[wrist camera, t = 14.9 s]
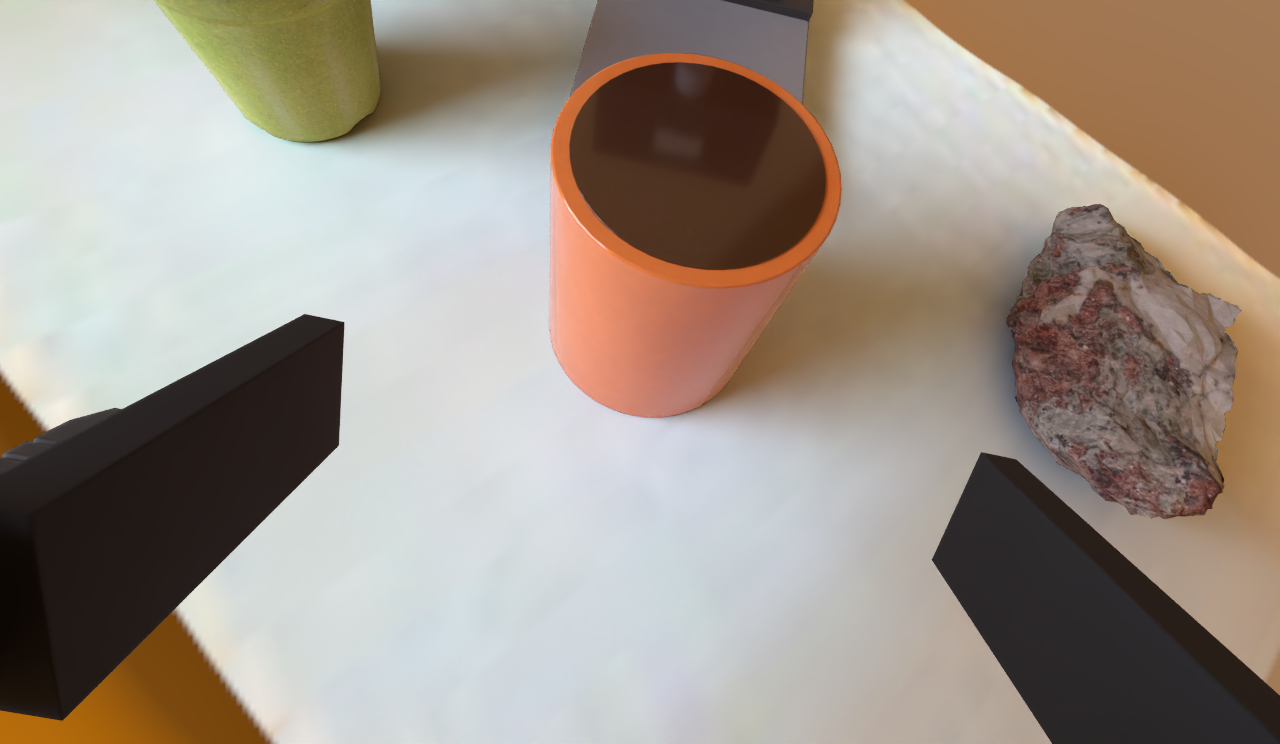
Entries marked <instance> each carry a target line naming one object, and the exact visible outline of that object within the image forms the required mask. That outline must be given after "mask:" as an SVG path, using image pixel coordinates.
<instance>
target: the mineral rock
mask: <svg viewBox="0 0 1280 744" xmlns="http://www.w3.org/2000/svg"><path fill="white" fill-rule="evenodd" d="M1058 213H1059V214H1058V215H1057V217H1056V219H1055V221H1054V223H1053V229H1052V234H1051V236H1050V237H1048V238H1046V239H1045V244H1044V248H1043V250H1042V252H1041V254H1038V256H1037V257H1036V258H1034V259H1033V260H1032V261H1031V263H1030V265H1029V267H1028V269H1029V270H1028V273H1027V276H1026V277H1025V279H1024V281H1023V282H1022V289H1021V295H1020V296H1017V302H1016V303H1015V304H1014V306H1013V307H1012V309H1011V313H1010V315H1009V316H1008V317H1007V321H1006V323H1007V326H1008V327H1011V328H1013V329H1012V330H1011V332H1012V336H1013V338H1014V339H1015V345H1016V348H1015V353H1014V357H1013V361H1012V365H1013V369H1014V374H1015V385H1016V388H1017V396H1016V397H1015V399H1016V401H1017V403H1018V405H1019V407H1020V413H1021V414H1022V416H1023V417H1024V419H1025V420H1026V422H1027V423H1028V425H1029V427H1030V428H1031V430H1032V432H1033V434H1034V436H1035V437H1036V438H1037V439H1038V440H1039V441H1040V442H1041V443H1042V444H1043V446H1044V447H1046V449H1047V450H1048V451H1049V452H1050V453H1051V454H1052V456H1053V457H1054V458H1055V459H1056V460H1057V463H1058V464H1060V465H1062V466H1064V467H1066V468H1068V469H1070V470H1072V471H1074V472H1075V473H1077V474H1080V475H1081V476H1082V477H1084V478H1085V479H1086V480H1087V481H1089V482H1090V483H1091V487H1092V489H1093V490H1095V491H1096V492H1097V493H1098V494H1099V495H1100V496H1101V497H1102V498H1104V499H1105V500H1106V501H1111V502H1116V503H1120V504H1121V505H1124V506H1125V508H1126V509H1127V510H1128V512H1129V513H1130V514H1131V515H1134V514H1139V515H1142V516H1145V517H1148V518H1154V517H1157V516H1160V517H1161V518H1163V519H1164V518H1165V519H1168V518H1172V517H1176V516H1190V515H1191V516H1194V515H1205V513H1206V511H1207V509H1212V504H1213V502H1214V500H1215V498H1216V497H1217V495H1218V494H1220V493H1222V492H1223V488H1224V478H1223V475H1222V473H1221V471H1220V469H1219V467H1218V465H1217V463H1216V459H1217V448H1216V442H1219V441H1220V440H1222V435H1223V432H1224V429H1225V426H1226V422H1225V417H1224V414H1225V413H1226V412H1228V411H1230V409H1231V407H1232V403H1233V392H1232V385H1233V382H1234V379H1235V362H1236V356H1237V351H1238V350H1237V348H1236V347H1235V345H1234V342H1233V341H1232V340H1231V338H1230V337H1229V335H1228V334H1226V333H1224V331H1226V330H1225V329H1226V328H1227V327H1229V326H1231V325H1232V324H1233V323H1234V321H1235V317H1236V316H1237V315H1238V314H1239V313H1240V312H1241V310H1240V309H1239V306H1238V305H1232V304H1230V303H1228V302H1226V301H1223V300H1221V299H1220V298H1216V297H1214V296H1212V295H1211V293H1209V294H1205V293H1203V294H1198V293H1197V292H1195V291H1194V290H1192V289H1190V288H1189V287H1188V286H1185V285H1182V284H1178V282H1177V281H1176V280H1175V279H1174V278H1173V276H1172V275H1171V274H1170V272H1168V271H1166V270H1165V269H1164V268H1163V266H1162V264H1161V263H1160V261H1159V260H1158V259H1157V258H1155V257H1153V256H1151V255H1150V254H1149V253H1147V252H1146V251H1144V249H1143V247H1142V245H1141V244H1140V243H1139V242H1138V241H1136V240H1135V239H1133V238H1131V237H1130V236H1129V235H1128V234H1127V232H1126V230H1125V228H1124V227H1123V226H1121V225H1120V224H1119V223H1117V222H1116V221H1115V220H1114V219H1113V217H1112V215H1111V213H1110V211H1109V209H1108V208H1107V207H1105V206H1103V205H1101V204H1095V205H1091V206H1088V207H1086V206H1083V207H1071V208H1068V209H1066V210H1064V211H1061V212H1058Z"/></svg>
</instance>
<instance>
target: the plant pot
mask: <svg viewBox="0 0 1280 744" xmlns="http://www.w3.org/2000/svg"><path fill="white" fill-rule="evenodd" d="M154 1H155V2H156V3H157V5H158V6H159V7H160V8H161V10H162V11H163V12H164V14H165V15H166V16H167V17H168V19H169V20H170V21H171V23H172V24H173V25H174V26H175V28H176V29H177V30H178V31H179V33H180V34H181V35H182V37H183V38H184V39H185V40H186V42H187V43H188V44H189V46H190V47H191V48H192V49H193V51H194V52H195V53H196V54H197V56H198V57H199V58H200V60H201V61H202V62H203V63H204V65H205V66H206V67H207V68H208V70H209V71H210V72H211V74H212V75H213V76H214V78H215V79H216V80H217V81H218V83H219V84H220V85H221V87H222V88H223V89H224V91H225V92H226V93H227V94H228V96H229V97H230V98H231V100H232V101H233V102H234V103H235V105H236V106H237V107H238V109H239V110H240V111H241V112H242V114H243V115H244V116H245V117H246V118H247V119H248V120H249V121H251V122H252V123H254V124H255V125H257V126H258V127H260V128H262V129H263V130H265V131H266V132H268V133H269V134H271V135H273V136H275V137H278V138H281V139H285V140H290V141H299V142H312V141H322V140H327V139H331V138H335V137H338V136H341V135H344V134H346V133H348V132H349V131H350V130H351V129H352V128H353V127H354V126H355V125H356V123H358V122H359V121H360V120H361V119H362V118H364V117H365V116H367V115H369V114H371V113H373V111H374V110H375V108H376V106H377V104H378V101H379V98H380V78H379V68H378V60H377V52H376V44H375V36H374V27H373V19H372V9H371V1H370V0H154Z"/></svg>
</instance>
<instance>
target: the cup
mask: <svg viewBox="0 0 1280 744" xmlns="http://www.w3.org/2000/svg"><path fill="white" fill-rule="evenodd" d="M840 200H841V176H840V170H839V166H838V162H837V158H836V155H835V153H834V150H833V147H832V145H831V143H830V141H829V139H828V137H827V136H826V134H825V132H824V130H823V129H822V127H821V126H820V125H819V123H818V122H817V120H816V119H815V118H814V116H813V115H812V114H811V113H810V112H809V111H808V110H807V109H806V108H805V106H804V105H803V104H801V103H800V102H799V101H798V100H797V99H796V98H795V97H794V96H793V95H792V94H790V93H789V92H788V91H786V90H785V89H783V88H782V87H781V86H779V85H778V84H777V83H775V82H773V81H771V80H770V79H768V78H766V77H765V76H763V75H761V74H759V73H757V72H755V71H753V70H751V69H749V68H746V67H744V66H741V65H738V64H736V63H733V62H730V61H726V60H723V59H719V58H715V57H711V56H705V55H699V54H689V53H658V54H650V55H643V56H639V57H634V58H630V59H627V60H624V61H621V62H619V63H616V64H613V65H611V66H609V67H607V68H605V69H603V70H601V71H599V72H598V73H596V74H595V75H593V76H592V77H591V78H589V79H588V80H586V81H585V82H584V83H583V84H582V85H581V86H580V87H579V88H578V89H577V90H575V92H574V93H573V94H572V95H571V97H570V98H569V99H568V100H567V102H566V103H565V105H564V107H563V109H562V110H561V112H560V114H559V116H558V118H557V121H556V124H555V127H554V129H553V134H552V140H551V155H550V293H549V331H550V337H551V343H552V346H553V349H554V352H555V355H556V357H557V359H558V361H559V363H560V365H561V367H562V368H563V370H564V371H565V373H566V374H567V376H568V377H569V378H570V379H571V380H572V382H573V383H574V384H575V385H576V386H577V387H578V388H579V389H580V390H582V391H583V392H584V393H585V394H586V395H588V396H589V397H591V398H592V399H593V400H595V401H596V402H598V403H600V404H602V405H604V406H606V407H608V408H610V409H613V410H616V411H618V412H621V413H625V414H629V415H633V416H641V417H665V416H672V415H677V414H681V413H684V412H687V411H690V410H692V409H694V408H697V407H699V406H701V405H702V404H704V403H706V402H707V401H709V400H710V399H711V398H713V397H714V396H715V395H716V394H718V393H719V392H720V391H721V389H722V388H723V387H724V386H725V385H726V384H727V382H728V381H729V380H730V378H731V377H732V375H733V374H734V372H735V371H736V369H737V368H738V366H739V365H740V364H741V362H742V361H743V359H744V358H745V356H746V355H747V353H748V352H749V350H750V349H751V348H752V346H753V345H754V343H755V342H756V340H757V339H758V337H759V336H760V334H761V333H762V332H763V330H764V329H765V327H766V326H767V324H768V323H769V321H770V320H771V318H772V317H773V316H774V314H775V313H776V311H777V310H778V308H779V307H780V305H781V304H782V302H783V301H784V300H785V298H786V297H787V295H788V294H789V292H790V291H791V289H792V288H793V286H794V285H795V284H796V282H797V281H798V279H799V278H800V276H801V275H802V273H803V272H804V270H805V269H806V268H807V266H808V265H809V263H810V262H811V260H812V259H813V257H814V256H815V254H816V253H817V252H818V250H819V249H820V247H821V246H822V244H823V243H824V241H825V240H826V238H827V237H828V235H829V234H830V232H831V230H832V228H833V226H834V223H835V221H836V219H837V215H838V211H839V207H840Z"/></svg>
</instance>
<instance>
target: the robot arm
mask: <svg viewBox="0 0 1280 744" xmlns="http://www.w3.org/2000/svg"><path fill="white" fill-rule="evenodd" d="M343 342H344V322H341V321H336V320H331V319H326V318H321V317H316V316H311V315H307V314H304V315H302V316H300V317H298V318H296V319H295V320H293V321H291V322H289V323H287V324H285V325H283V326H281V327H279V328H277V329H275V330H273V331H272V332H270V333H268V334H266V335H264V336H262V337H260V338H258V339H256V340H254V341H252V342H250V343H248V344H247V345H245V346H243V347H241V348H239V349H237V350H235V351H233V352H231V353H229V354H227V355H225V356H224V357H222V358H220V359H218V360H216V361H214V362H212V363H210V364H208V365H206V366H204V367H202V368H200V369H199V370H197V371H195V372H193V373H191V374H189V375H187V376H185V377H183V378H181V379H179V380H177V381H175V382H174V383H172V384H170V385H168V386H166V387H164V388H162V389H160V390H158V391H156V392H154V393H152V394H151V395H149V396H147V397H145V398H143V399H141V400H139V401H137V402H135V403H133V404H131V405H129V406H127V407H126V408H124V409H118V408H113V409H109V410H105V411H102V412H98V413H94V414H91V415H87V416H83V417H80V418H76V419H72V420H69V421H67V422H65V423H63V424H61V425H59V426H57V427H55V428H53V429H51V430H49V431H47V432H45V433H43V434H41V435H39V436H37V437H35V438H34V441H33V442H25V443H23V444H21V445H19V446H17V447H15V448H13V449H11V450H9V451H6V452H4V453H3V456H2V457H1V458H0V710H1V711H8V712H13V713H19V714H25V715H32V716H38V717H44V718H50V719H56V720H63V719H64V718H66V717H67V716H68V715H69V714H70V713H71V712H72V711H73V710H74V709H75V708H76V706H78V704H80V703H81V702H82V701H83V700H84V698H86V697H87V696H88V695H89V694H90V693H91V692H92V691H93V690H94V689H95V688H96V687H97V686H98V684H100V683H101V682H102V681H103V680H104V679H105V678H106V677H107V676H108V675H109V674H110V673H111V672H112V671H113V670H114V669H115V668H116V667H117V666H118V665H119V664H120V663H121V662H122V661H123V660H124V659H125V658H126V657H127V656H128V655H129V654H130V653H131V652H132V651H133V650H134V649H135V648H136V647H137V646H138V645H139V644H140V643H141V642H142V641H143V640H144V639H145V638H146V637H147V636H148V635H149V634H150V633H151V632H152V631H153V630H154V629H155V628H156V627H157V626H158V625H159V624H160V623H161V622H162V621H163V620H164V619H165V618H166V617H167V616H168V615H169V614H170V613H171V612H172V611H173V610H174V609H175V608H176V607H177V606H178V605H179V604H180V603H181V602H182V601H183V600H184V599H185V598H186V597H187V596H188V595H189V594H190V593H191V592H192V591H193V590H194V589H195V588H196V587H197V586H198V585H199V584H200V583H201V582H202V581H203V580H204V579H205V578H206V577H207V576H208V575H209V574H210V573H211V572H212V571H213V570H214V569H215V568H216V567H217V566H218V565H219V564H220V563H221V562H222V561H223V560H224V559H225V558H226V557H227V556H228V555H229V554H230V553H231V552H232V551H233V550H234V549H235V548H236V547H237V546H238V545H239V544H240V543H241V542H242V541H243V540H244V539H245V538H246V537H247V536H248V535H249V534H250V533H251V532H252V531H253V530H254V529H255V528H256V527H257V526H258V525H259V524H260V523H261V522H262V521H263V520H264V519H265V518H266V517H267V516H268V515H269V514H270V513H271V512H272V511H273V510H274V509H275V508H276V507H277V506H278V505H279V504H280V503H281V502H282V501H283V500H284V499H285V498H286V497H287V496H288V495H290V494H291V493H292V492H293V491H294V490H295V489H296V488H297V487H298V486H299V485H300V484H301V483H302V482H303V481H304V480H305V479H306V478H307V477H308V476H309V475H310V474H311V473H312V472H313V471H314V470H315V469H316V468H317V467H318V466H319V465H320V464H321V463H322V462H323V461H324V460H325V459H326V458H327V457H328V456H329V455H330V454H331V453H332V452H333V451H334V450H335V449H336V448H337V447H338V446H339V429H340V407H341V385H342V364H343ZM932 561H933V562H934V564H935V565H936V567H937V569H938V570H939V572H940V573H941V575H942V576H943V578H944V579H945V581H946V582H947V584H948V585H949V587H950V588H951V590H952V591H953V593H954V594H955V596H956V597H957V599H958V601H959V602H960V604H961V605H962V607H963V608H964V610H965V611H966V613H967V614H968V616H969V617H970V619H971V620H972V622H973V623H974V625H975V626H976V628H977V630H978V631H979V633H980V634H981V636H982V637H983V639H984V640H985V642H986V643H987V645H988V646H989V648H990V649H991V651H992V652H993V654H994V655H995V657H996V658H997V660H998V662H999V663H1000V665H1001V666H1002V668H1003V669H1004V671H1005V672H1006V674H1007V675H1008V677H1009V678H1010V680H1011V681H1012V683H1013V684H1014V686H1015V687H1016V689H1017V690H1018V692H1019V694H1020V695H1021V697H1022V698H1023V700H1024V701H1025V703H1026V704H1027V706H1028V707H1029V709H1030V710H1031V712H1032V713H1033V715H1034V716H1035V718H1036V719H1037V721H1038V723H1039V724H1040V726H1041V727H1042V729H1043V730H1044V732H1045V733H1046V735H1047V736H1048V738H1049V739H1050V741H1051V742H1052V744H1280V695H1278V694H1277V693H1276V692H1275V691H1274V690H1273V689H1272V688H1271V687H1269V686H1268V685H1267V684H1266V683H1265V682H1264V681H1263V680H1262V679H1261V678H1259V677H1258V676H1257V675H1256V674H1255V673H1254V672H1253V671H1252V670H1251V669H1249V668H1248V667H1247V666H1246V665H1245V664H1244V663H1243V662H1242V661H1241V660H1239V659H1238V658H1237V657H1236V656H1235V655H1234V654H1233V653H1232V652H1230V651H1229V650H1228V649H1227V648H1226V647H1225V646H1224V645H1223V644H1222V643H1220V642H1219V641H1218V640H1217V639H1216V638H1215V637H1214V636H1213V635H1211V634H1210V633H1209V632H1208V631H1207V630H1206V629H1205V628H1204V627H1203V626H1201V625H1200V624H1199V623H1198V622H1197V621H1196V620H1195V619H1194V618H1193V617H1191V616H1190V615H1189V614H1188V613H1187V612H1186V611H1185V610H1184V609H1182V608H1181V607H1180V606H1179V605H1178V604H1177V603H1176V602H1175V601H1174V600H1172V599H1171V598H1170V597H1169V596H1168V595H1167V594H1166V593H1165V592H1164V591H1162V590H1161V589H1160V588H1159V587H1158V586H1157V585H1156V584H1155V583H1153V582H1152V581H1151V580H1150V579H1149V578H1148V577H1147V576H1146V575H1145V574H1143V573H1142V572H1141V571H1140V570H1139V569H1138V568H1137V567H1136V566H1134V565H1133V564H1132V563H1131V562H1130V561H1129V560H1128V559H1127V558H1126V557H1124V556H1123V555H1122V554H1121V553H1120V552H1119V551H1118V550H1117V549H1116V548H1114V547H1113V546H1112V545H1111V544H1110V543H1109V542H1108V541H1107V540H1105V539H1104V538H1103V537H1102V536H1101V535H1100V534H1099V533H1098V532H1097V531H1095V530H1094V529H1093V528H1092V527H1091V526H1090V525H1089V524H1088V523H1086V522H1085V521H1084V520H1083V519H1082V518H1081V517H1080V516H1079V515H1078V514H1076V513H1075V512H1074V511H1073V510H1072V509H1071V508H1070V507H1069V506H1068V505H1066V504H1065V503H1064V502H1063V501H1062V500H1061V499H1060V498H1059V497H1057V496H1056V495H1055V494H1054V493H1053V492H1052V491H1051V490H1050V489H1049V488H1047V487H1046V486H1045V485H1044V484H1043V483H1042V482H1041V481H1040V480H1038V479H1037V478H1036V477H1035V476H1034V475H1033V474H1032V473H1031V472H1030V471H1028V470H1027V469H1026V468H1025V467H1024V466H1023V465H1022V464H1021V463H1020V462H1018V461H1017V460H1016V459H1011V458H1007V457H1002V456H997V455H992V454H987V453H982V452H981V454H980V456H979V458H978V460H977V463H976V465H975V467H974V469H973V471H972V474H971V476H970V478H969V480H968V482H967V484H966V487H965V489H964V491H963V493H962V495H961V498H960V500H959V502H958V504H957V506H956V508H955V511H954V513H953V515H952V517H951V519H950V522H949V524H948V526H947V528H946V530H945V532H944V535H943V537H942V539H941V541H940V543H939V546H938V548H937V550H936V552H935V554H934V556H933V559H932Z"/></svg>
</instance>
